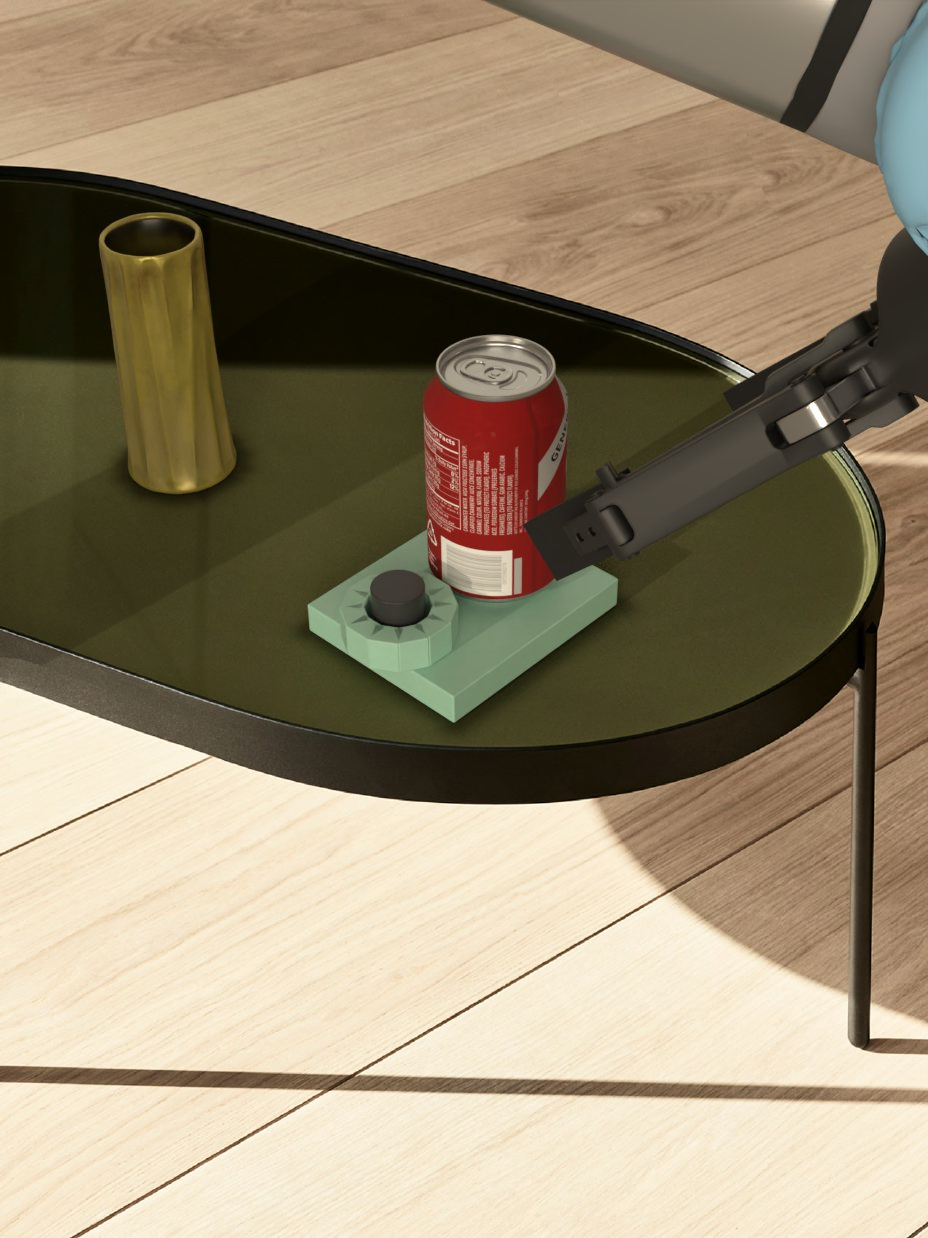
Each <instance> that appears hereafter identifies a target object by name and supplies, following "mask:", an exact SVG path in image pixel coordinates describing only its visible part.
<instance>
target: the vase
mask: <svg viewBox="0 0 928 1238" xmlns="http://www.w3.org/2000/svg"><path fill="white" fill-rule="evenodd" d="M98 248H99V256H100V262H101V267H102V273H103V274H102V275H103V279H104V285H105V292H106V298H107V304H108V312H109V319H110V328H111V335H112V343H113V352H114V359H115V365H116V370H117V378H118V379H117V380H118V388H119V395H120V403H121V404H120V405H121V412H122V416H123V424H124V430H125V437H126V447H127V469H128V473H129V476H130V477H131V479H132V480H133V481H134V482H135V483H137V484H138V485H139V486H141V487H142V488H144V489H145V490H146V489H147V490H149V491H152V492H156V493H163V494H170V495H184V494H192V493H197V492H200V491H205V490H206V489H209V488H212V487H213V486H216V485H218V484H220V483H221V482H223V481H224V480H225V479H226V478H227V477H228V476H229V475H230V474H231V472H233V470H234V469H235V467H236V464H237V450H236V449H237V448H236V447H235V444H234V443H235V442H234V441H233V440H234V439H233V435H232V429H231V425H230V422H229V417H228V412H227V407H226V403H225V397H224V391H223V386H222V380H221V374H220V368H219V361H218V354H217V348H216V342H215V334H214V333H215V332H214V322H213V314H212V306H211V305H212V304H211V297H210V288H209V280H208V273H207V264H206V255H205V243H204V237H203V232H202V230H201V227H200V226H199V225H198V224H197V223H196V222H195V221H194V220H192V219H191V218H189V217H186V216H183V215H180V214H176V213H173V212H172V213H171V212H142V213H136V214H132V215H128V216H125V217H123V218H121V219H117V220H116V221H114V222H112V223H110V224H109V225H107V226H106V227H105V228H104V229H103V230H102V231H101V233H100V234H99V237H98Z"/></svg>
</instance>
